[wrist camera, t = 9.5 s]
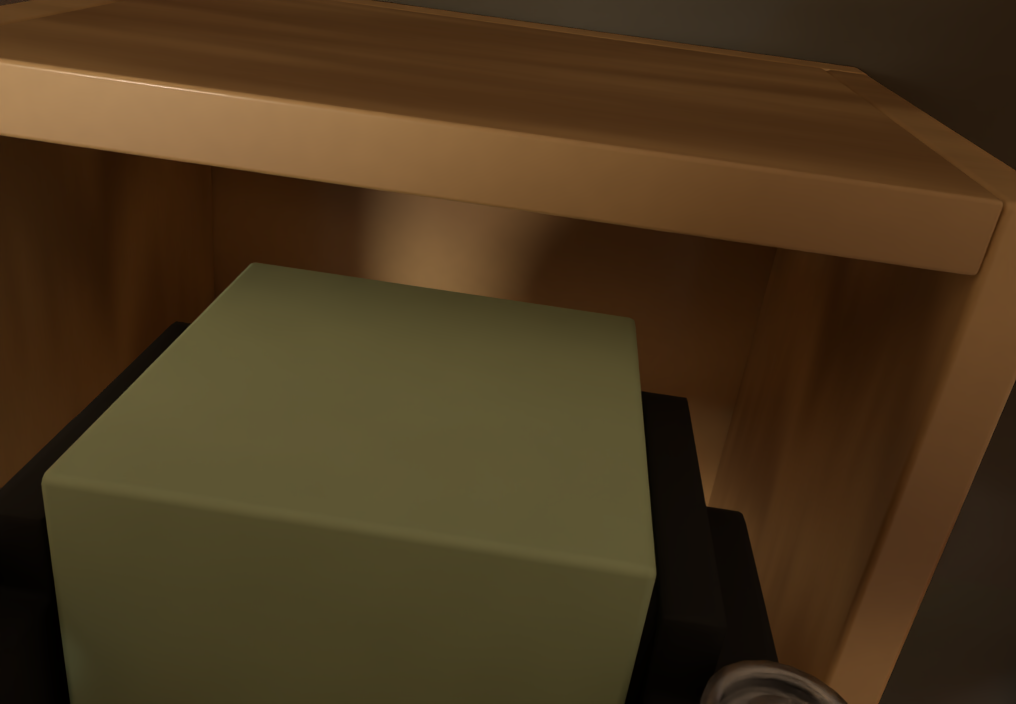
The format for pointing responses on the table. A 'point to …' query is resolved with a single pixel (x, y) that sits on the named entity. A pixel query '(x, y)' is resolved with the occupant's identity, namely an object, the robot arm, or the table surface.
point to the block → (361, 505)
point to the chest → (543, 246)
